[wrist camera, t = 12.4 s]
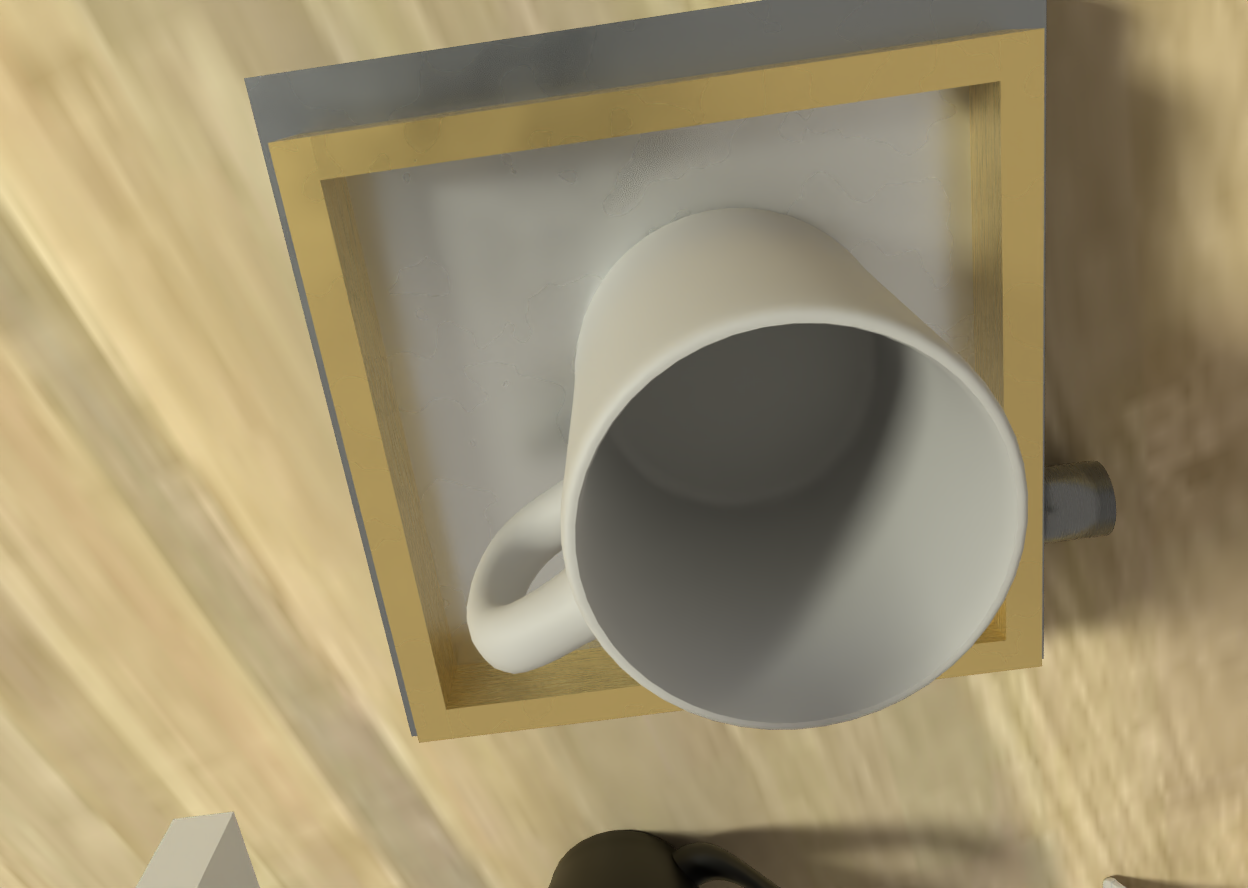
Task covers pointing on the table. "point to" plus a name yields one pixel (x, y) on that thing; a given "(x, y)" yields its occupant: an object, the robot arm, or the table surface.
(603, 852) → the mug
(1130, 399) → the table surface
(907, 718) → the table surface
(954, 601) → the mug
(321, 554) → the table surface
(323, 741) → the table surface
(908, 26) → the yellow and grey tray
